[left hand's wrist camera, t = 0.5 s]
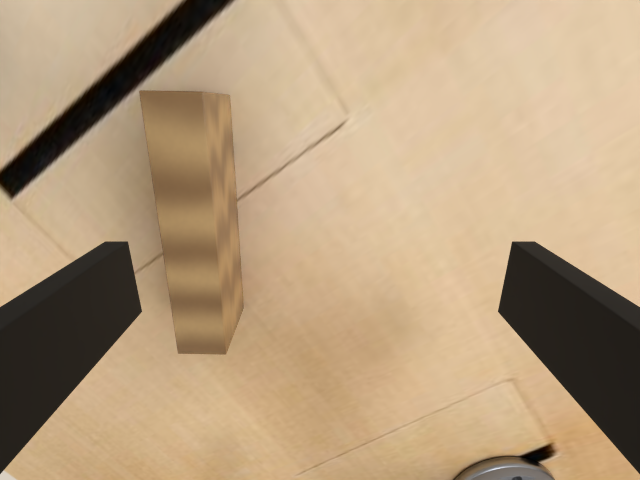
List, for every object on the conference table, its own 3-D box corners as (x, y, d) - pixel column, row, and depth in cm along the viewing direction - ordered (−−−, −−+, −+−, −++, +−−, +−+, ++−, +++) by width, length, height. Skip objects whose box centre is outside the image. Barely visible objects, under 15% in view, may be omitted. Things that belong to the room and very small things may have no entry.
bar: (181, 93, 32) (138, 90, 25) (229, 94, 32) (202, 91, 25) (204, 307, 40) (177, 353, 32) (243, 308, 40) (226, 354, 32)
